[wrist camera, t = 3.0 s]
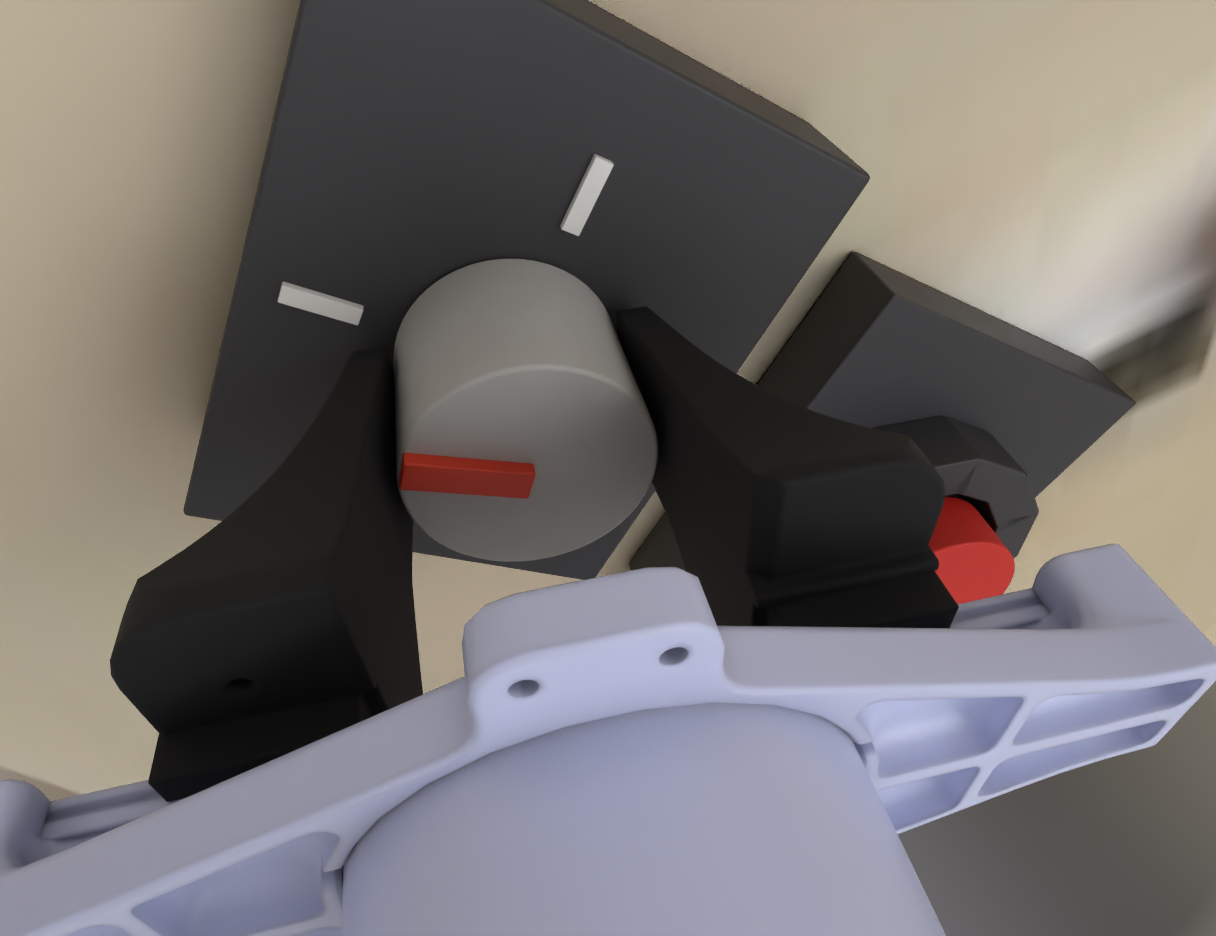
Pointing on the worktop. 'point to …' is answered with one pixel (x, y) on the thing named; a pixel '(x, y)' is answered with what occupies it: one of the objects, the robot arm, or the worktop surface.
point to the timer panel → (499, 204)
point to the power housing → (939, 393)
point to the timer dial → (517, 414)
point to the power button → (969, 553)
